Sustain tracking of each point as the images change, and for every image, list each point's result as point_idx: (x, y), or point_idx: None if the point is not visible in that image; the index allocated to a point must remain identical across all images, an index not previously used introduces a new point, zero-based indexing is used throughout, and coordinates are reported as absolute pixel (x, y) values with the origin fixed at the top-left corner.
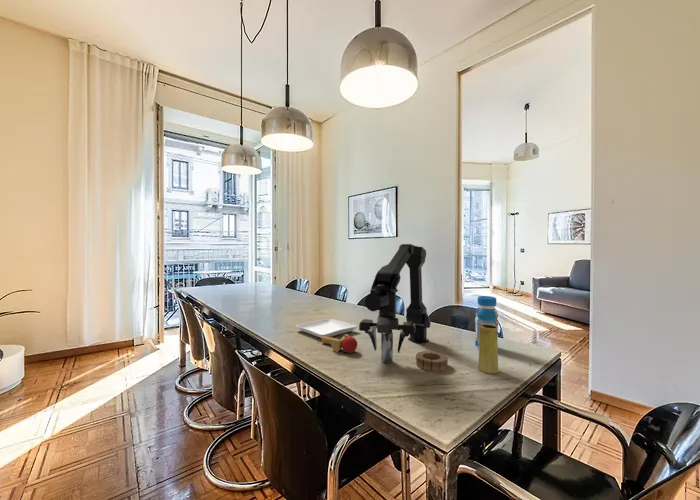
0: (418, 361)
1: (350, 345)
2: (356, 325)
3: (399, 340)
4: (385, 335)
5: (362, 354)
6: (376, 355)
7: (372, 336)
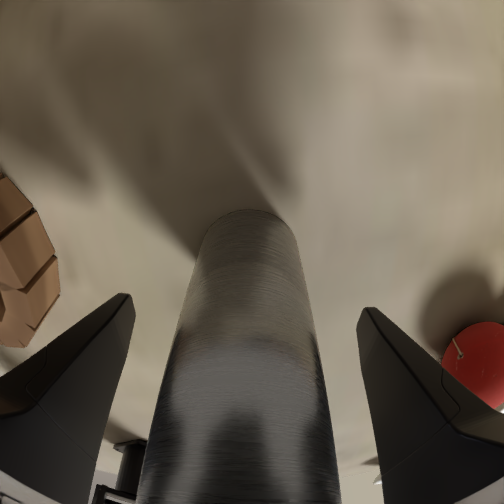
0: (5, 219)
1: (497, 347)
2: (376, 483)
3: (42, 385)
4: (263, 492)
5: (411, 330)
6: (328, 337)
7: (471, 420)
